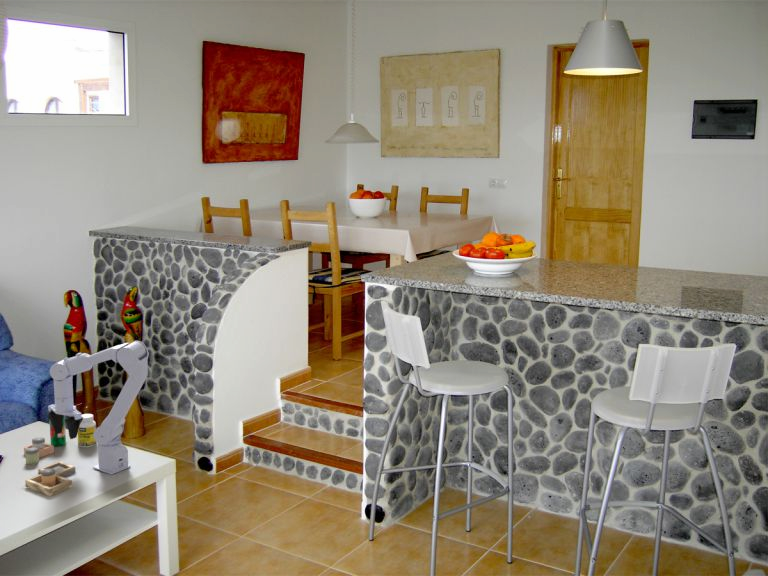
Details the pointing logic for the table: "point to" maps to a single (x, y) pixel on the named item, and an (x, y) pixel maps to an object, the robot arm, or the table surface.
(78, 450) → the table surface
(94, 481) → the table surface
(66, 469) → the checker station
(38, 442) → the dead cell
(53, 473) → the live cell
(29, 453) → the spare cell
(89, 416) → the pill bottle
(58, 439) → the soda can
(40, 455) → the copper square frame
